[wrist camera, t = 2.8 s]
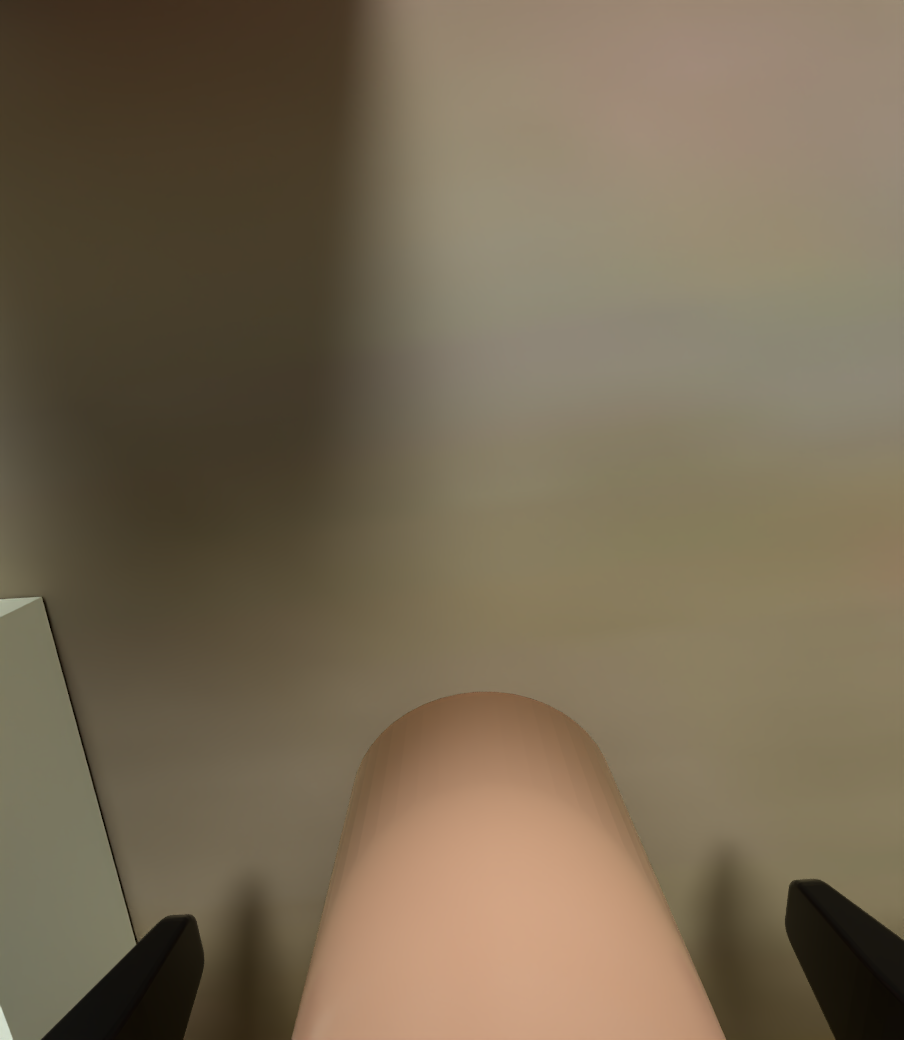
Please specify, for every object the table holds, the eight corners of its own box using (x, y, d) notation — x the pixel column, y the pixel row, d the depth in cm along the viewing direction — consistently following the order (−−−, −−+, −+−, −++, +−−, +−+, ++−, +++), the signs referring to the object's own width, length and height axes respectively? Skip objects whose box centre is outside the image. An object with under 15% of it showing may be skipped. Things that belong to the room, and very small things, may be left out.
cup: (612, 905, 10) (945, 1941, 3) (365, 918, 10) (197, 1967, 3) (616, 683, 9) (1144, 1589, 2) (336, 700, 9) (-9, 1643, 2)
